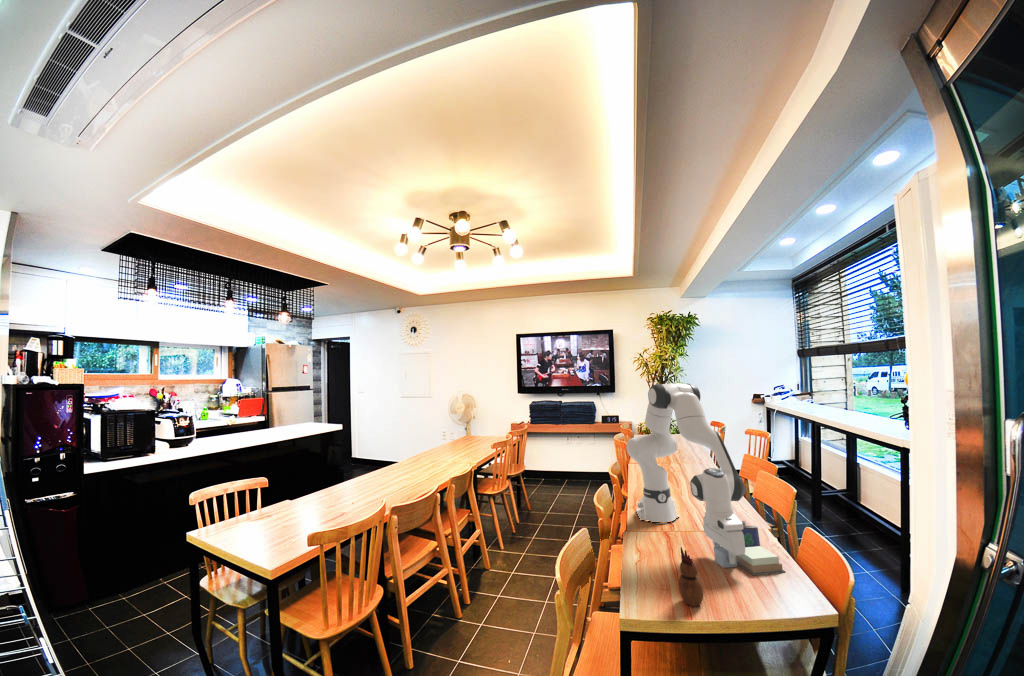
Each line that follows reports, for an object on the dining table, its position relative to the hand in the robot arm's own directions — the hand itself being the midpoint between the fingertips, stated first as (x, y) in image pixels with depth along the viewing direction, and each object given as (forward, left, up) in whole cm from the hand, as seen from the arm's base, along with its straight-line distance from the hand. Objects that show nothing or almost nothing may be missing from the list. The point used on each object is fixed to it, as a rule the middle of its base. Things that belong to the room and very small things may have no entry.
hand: (725, 558), depth 141 cm
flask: (-8, +13, -2) cm, 16 cm away
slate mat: (+4, +9, -2) cm, 10 cm away
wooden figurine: (+22, -23, -2) cm, 32 cm away
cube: (0, 0, -2) cm, 2 cm away
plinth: (+4, +9, -2) cm, 10 cm away
